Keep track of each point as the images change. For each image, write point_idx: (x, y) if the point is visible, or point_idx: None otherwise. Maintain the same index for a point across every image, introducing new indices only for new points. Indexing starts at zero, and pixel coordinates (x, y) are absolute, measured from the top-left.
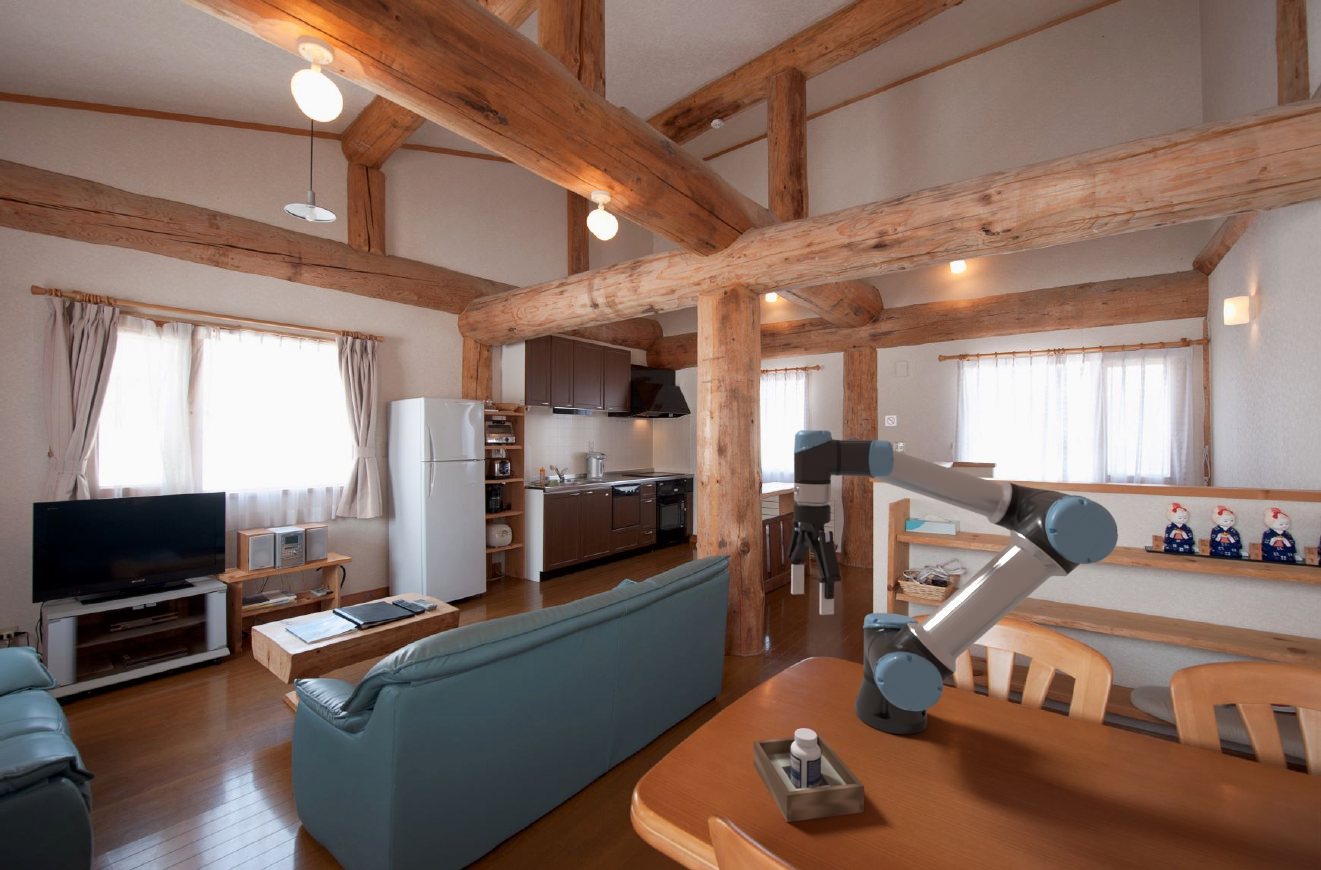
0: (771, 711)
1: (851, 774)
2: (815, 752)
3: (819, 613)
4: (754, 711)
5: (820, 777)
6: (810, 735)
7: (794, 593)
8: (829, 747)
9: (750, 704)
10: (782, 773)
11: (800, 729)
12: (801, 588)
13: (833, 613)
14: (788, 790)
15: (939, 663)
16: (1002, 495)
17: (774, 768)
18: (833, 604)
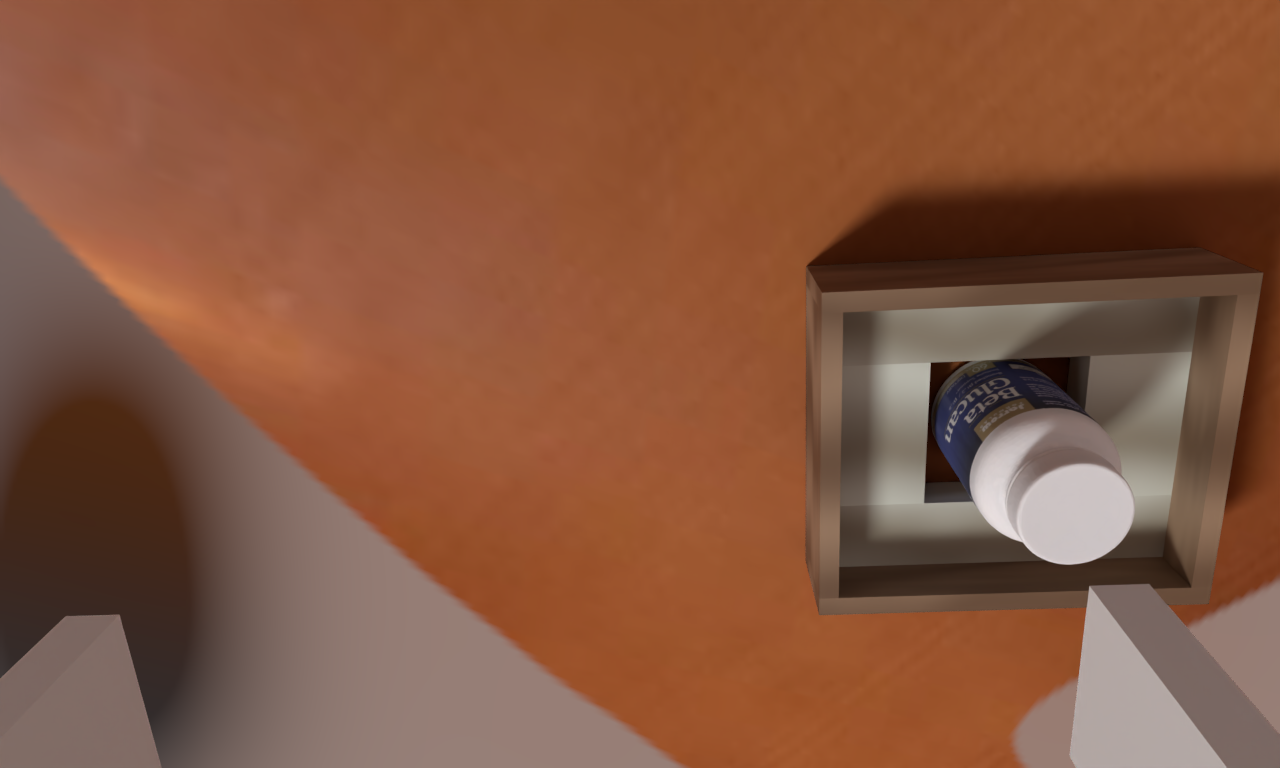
0: (383, 350)
1: (1172, 289)
2: (1115, 462)
3: (1073, 759)
4: (381, 433)
5: (1058, 386)
6: (1098, 499)
7: (147, 758)
8: (943, 296)
9: (309, 432)
10: (967, 514)
11: (1030, 525)
12: (80, 713)
13: (1150, 594)
14: (1182, 587)
15: None
16: None
17: (1034, 594)
18: (1234, 688)
